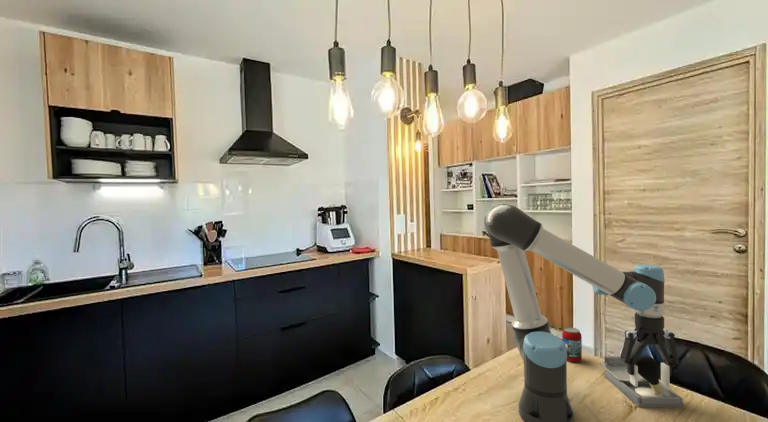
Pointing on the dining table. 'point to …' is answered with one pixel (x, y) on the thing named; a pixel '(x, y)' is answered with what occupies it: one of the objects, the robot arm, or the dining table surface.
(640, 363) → the light bulb
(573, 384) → the dining table surface
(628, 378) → the lid
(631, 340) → the robot arm
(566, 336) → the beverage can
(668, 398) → the holder
